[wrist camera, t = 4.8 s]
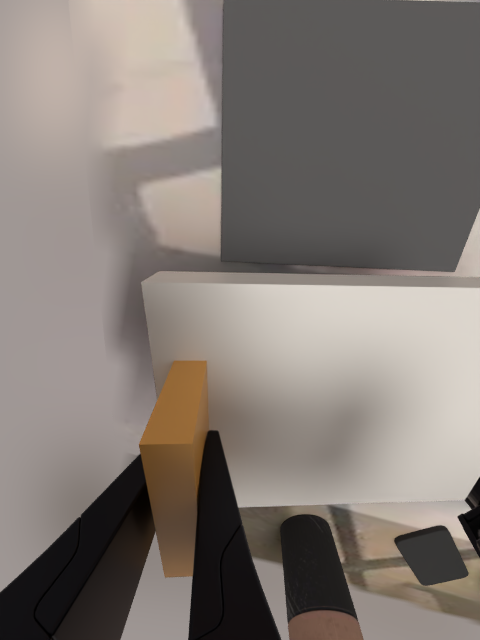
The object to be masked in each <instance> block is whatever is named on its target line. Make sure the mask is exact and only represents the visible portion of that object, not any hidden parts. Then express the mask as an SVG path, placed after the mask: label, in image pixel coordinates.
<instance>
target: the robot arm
mask: <svg viewBox="0 0 480 640" xmlns="http://www.w3.org/2000/svg"><path fill="white" fill-rule="evenodd" d="M465 501H466V503H467V504H468V505H469V506H470V508H471V509H472V510H470V511H468V512H467V513H465V514H461V515H459V516H458V519H459V521H460V523H461V524H462V526H463V529H464V531H465V533H466V534H467V536H468V538H469V540H470V541H471V543H472V545H473V547H474V549H475V550H476V552H477V554H478V556H479V557H480V477H479V479H478V480H477V482H476V483H475V485H474V486H473V488H472V490H471V491H470V493H469V494H468V496H467V498H466V499H465ZM155 531H156V529H155V524H154V519H153V514H152V509H151V504H150V499H149V494H148V489H147V483H146V478H145V473H144V468H143V463H142V458H141V454H140V455H139V456H138V457H137V458H136V459H135V460H134V461H133V462H132V463H131V464H130V465H129V466H128V467H127V468H126V469H125V470H124V471H123V472H122V473H121V474H120V475H119V476H118V477H117V478H116V479H115V481H113V482H112V483H111V484H110V486H109V487H108V488H107V489H106V490H105V491H104V492H103V493H102V494H101V495H100V496H99V497H98V498H97V499H96V500H95V501H94V502H93V503H92V504H91V505H90V506H89V507H88V508H87V509H86V510H85V511H84V512H83V513H82V514H81V518H80V517H79V518H77V519H76V520H75V522H74V523H73V524H72V525H71V526H70V527H69V528H68V529H67V530H66V531H65V532H64V533H63V534H62V535H61V536H60V537H59V538H58V539H57V540H56V541H55V542H54V543H53V544H52V545H51V546H50V547H49V548H48V549H47V550H46V551H45V552H44V553H43V554H41V555H40V556H39V557H38V558H37V559H36V560H35V561H34V562H33V563H32V564H31V565H30V566H29V567H27V568H26V569H25V570H24V571H23V572H22V573H21V574H20V575H19V576H18V577H17V578H16V579H14V580H13V581H12V582H11V583H10V584H9V585H8V586H7V587H6V588H5V589H3V590H2V591H1V592H0V640H120V639H121V636H122V633H123V630H124V626H125V623H126V620H127V617H128V614H129V611H130V608H131V605H132V602H133V599H134V596H135V593H136V590H137V587H138V584H139V580H140V577H141V574H142V571H143V568H144V565H145V562H146V559H147V556H148V553H149V550H150V546H151V543H152V540H153V537H154V534H155ZM188 640H281V637H280V635H279V632H278V629H277V627H276V624H275V621H274V619H273V616H272V613H271V611H270V608H269V605H268V602H267V600H266V597H265V594H264V592H263V589H262V586H261V584H260V580H259V578H258V575H257V572H256V569H255V566H254V563H253V560H252V556H251V553H250V549H249V546H248V542H247V539H246V535H245V531H244V527H243V525H242V520H241V516H240V512H239V508H238V504H237V500H236V496H235V493H234V489H233V485H232V481H231V477H230V473H229V469H228V465H227V461H226V458H225V454H224V450H223V446H222V442H221V438H220V434H219V431H218V430H209V431H208V432H207V437H206V441H205V445H204V450H203V456H202V463H201V470H200V479H199V493H198V507H197V522H196V536H195V551H194V565H193V580H192V594H191V609H190V623H189V638H188Z"/></svg>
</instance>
